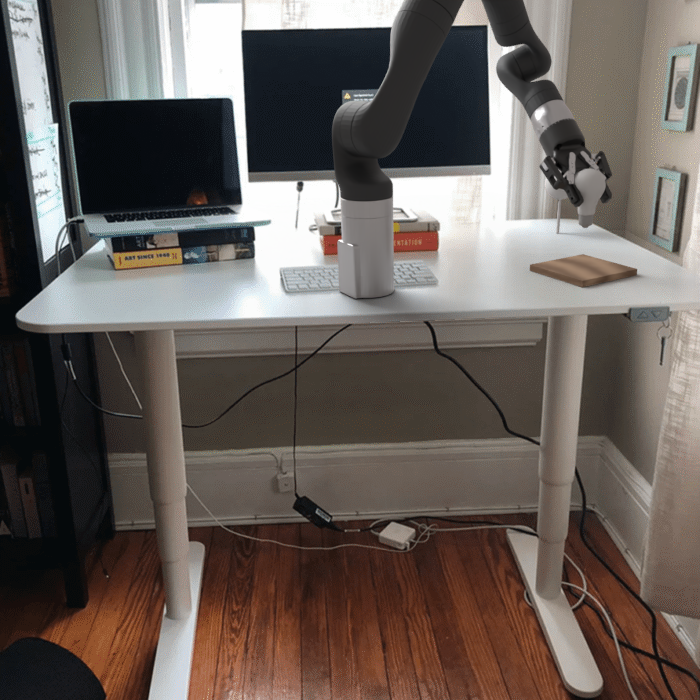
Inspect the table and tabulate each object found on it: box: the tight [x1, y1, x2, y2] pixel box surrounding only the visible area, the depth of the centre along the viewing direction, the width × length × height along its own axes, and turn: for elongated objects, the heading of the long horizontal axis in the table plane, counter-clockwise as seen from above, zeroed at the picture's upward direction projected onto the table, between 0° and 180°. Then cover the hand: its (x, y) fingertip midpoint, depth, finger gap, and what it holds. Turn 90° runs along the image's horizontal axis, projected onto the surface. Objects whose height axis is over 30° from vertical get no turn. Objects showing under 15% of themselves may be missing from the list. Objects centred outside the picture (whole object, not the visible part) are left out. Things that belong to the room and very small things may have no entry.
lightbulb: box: [574, 168, 607, 229], centre depth 148 cm, size 6×6×11 cm
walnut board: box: [529, 253, 638, 288], centre depth 153 cm, size 14×14×1 cm
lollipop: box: [544, 169, 569, 234], centre depth 182 cm, size 7×7×15 cm
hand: (593, 202), depth 147 cm, fingers closed on lightbulb, 6 cm apart
